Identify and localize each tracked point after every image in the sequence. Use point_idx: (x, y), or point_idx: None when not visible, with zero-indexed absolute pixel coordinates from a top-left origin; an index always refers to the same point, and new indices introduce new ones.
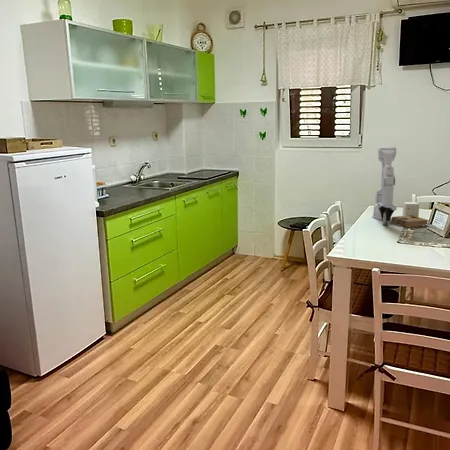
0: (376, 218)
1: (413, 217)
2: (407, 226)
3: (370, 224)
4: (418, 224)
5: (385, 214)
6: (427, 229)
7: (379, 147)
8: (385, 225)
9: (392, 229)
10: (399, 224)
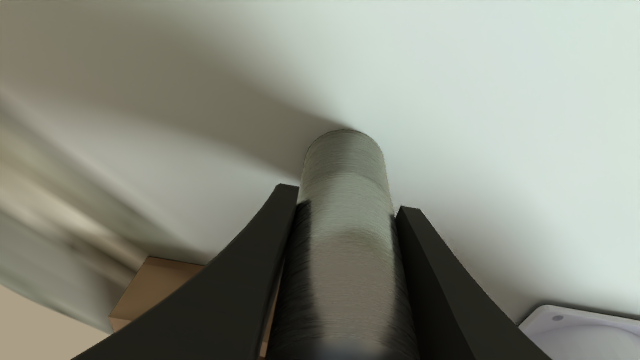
0: (623, 318)
1: None
2: (142, 268)
3: (565, 22)
4: None
5: (310, 288)
6: (61, 313)
7: None
8: (316, 144)
9: (100, 62)
10: None
